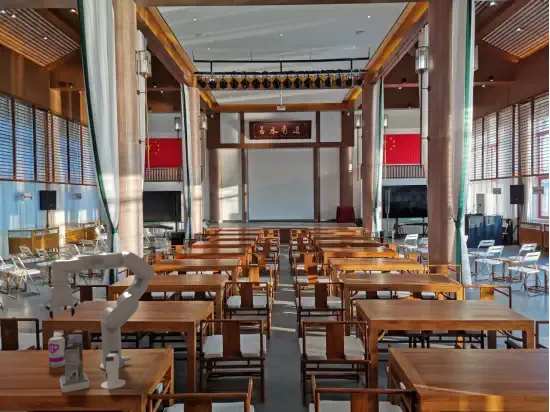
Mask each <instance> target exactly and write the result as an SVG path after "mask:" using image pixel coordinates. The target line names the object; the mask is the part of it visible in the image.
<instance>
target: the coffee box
mask: <svg viewBox="0 0 550 412" xmlns="http://www.w3.org/2000/svg"><path fill="white" fill-rule="evenodd" d="M64 354H65V364H64V374H65V375H64V376H65V379H66V381H78V380H79V379H80V378H81V376H82V375H83V372H84V358H83V341H79V342H77V341H76V342H68V344H67V345H65V348H64Z"/></svg>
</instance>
